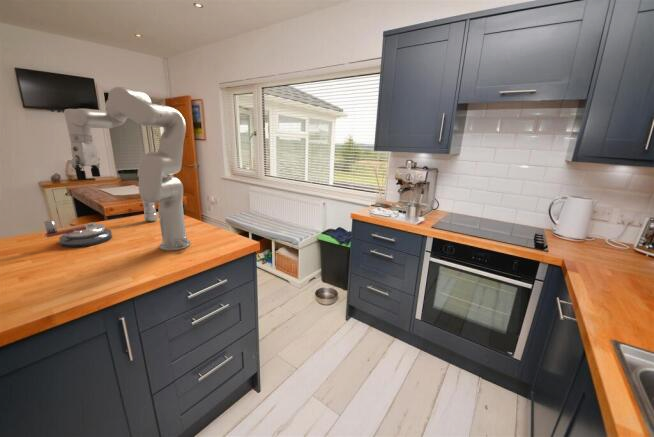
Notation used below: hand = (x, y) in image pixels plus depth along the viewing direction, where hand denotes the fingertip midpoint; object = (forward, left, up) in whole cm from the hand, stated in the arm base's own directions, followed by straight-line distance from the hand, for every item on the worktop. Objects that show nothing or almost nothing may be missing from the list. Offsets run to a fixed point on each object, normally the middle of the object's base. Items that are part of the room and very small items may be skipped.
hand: (89, 178), depth 124 cm
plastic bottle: (+5, -27, -28) cm, 39 cm away
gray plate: (-2, +6, -28) cm, 29 cm away
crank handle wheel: (-2, +9, -25) cm, 27 cm away
